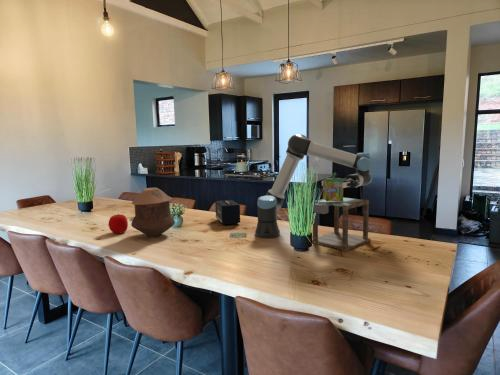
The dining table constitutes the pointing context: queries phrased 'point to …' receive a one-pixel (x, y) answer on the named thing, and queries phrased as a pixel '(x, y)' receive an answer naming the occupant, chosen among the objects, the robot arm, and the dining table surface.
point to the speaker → (227, 212)
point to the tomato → (118, 224)
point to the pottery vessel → (152, 212)
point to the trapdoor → (325, 204)
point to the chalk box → (333, 189)
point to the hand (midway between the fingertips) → (332, 184)
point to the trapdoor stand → (343, 229)
